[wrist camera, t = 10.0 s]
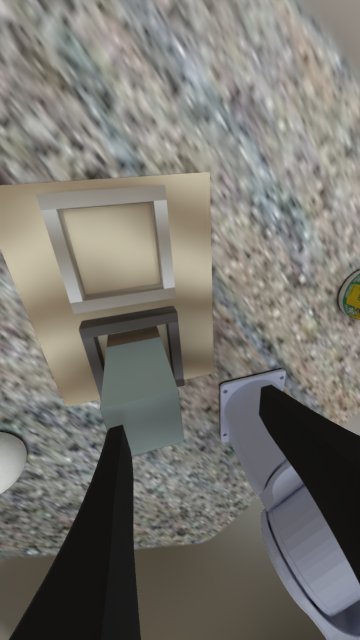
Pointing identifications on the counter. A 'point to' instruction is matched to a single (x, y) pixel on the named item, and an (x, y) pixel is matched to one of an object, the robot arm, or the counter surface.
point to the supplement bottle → (351, 296)
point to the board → (112, 270)
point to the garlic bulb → (11, 459)
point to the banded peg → (141, 391)
